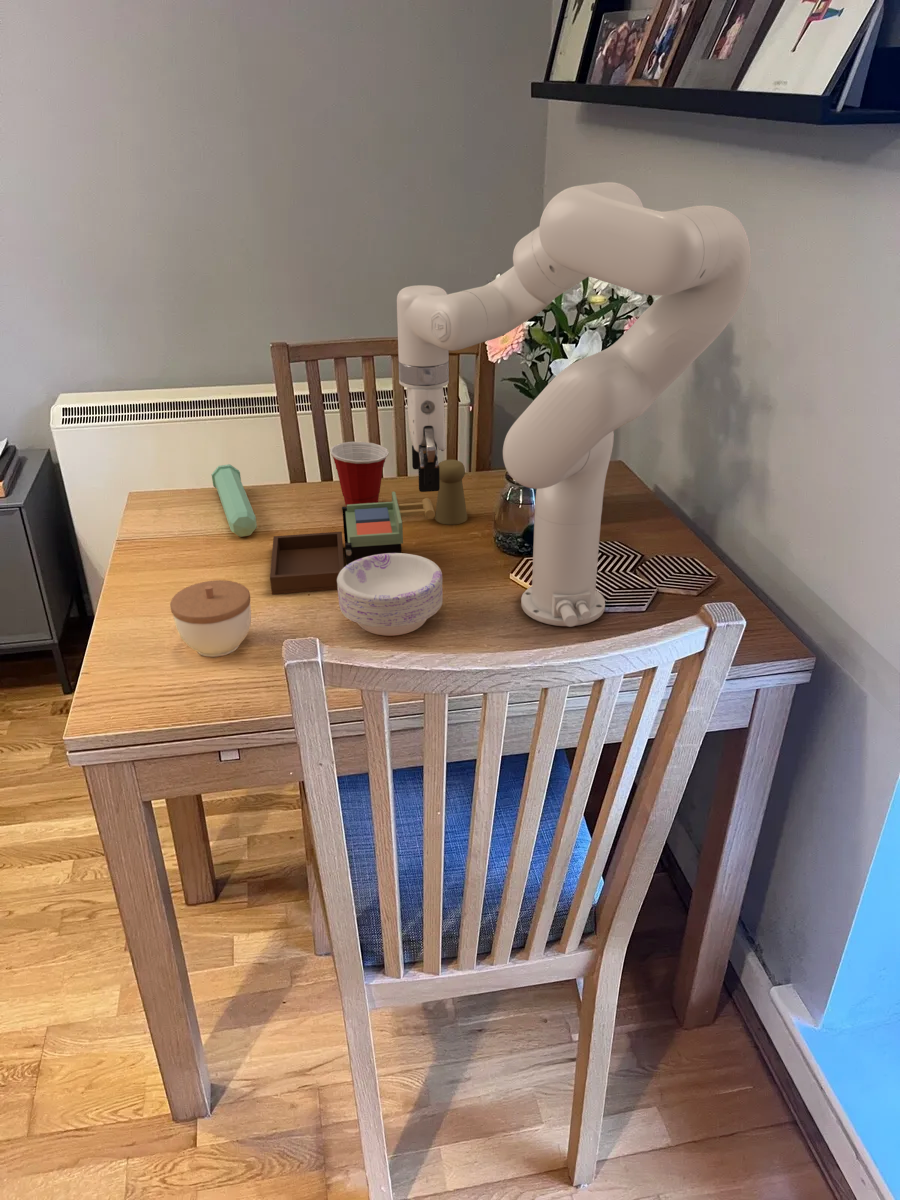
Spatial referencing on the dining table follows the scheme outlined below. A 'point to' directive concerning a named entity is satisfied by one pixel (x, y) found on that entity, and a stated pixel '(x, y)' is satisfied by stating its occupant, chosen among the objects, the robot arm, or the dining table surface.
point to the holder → (306, 562)
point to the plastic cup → (359, 470)
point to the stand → (365, 551)
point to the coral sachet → (373, 528)
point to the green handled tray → (394, 518)
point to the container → (234, 500)
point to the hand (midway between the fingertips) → (425, 479)
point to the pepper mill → (451, 493)
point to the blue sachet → (371, 515)
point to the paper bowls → (390, 592)
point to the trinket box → (212, 616)
